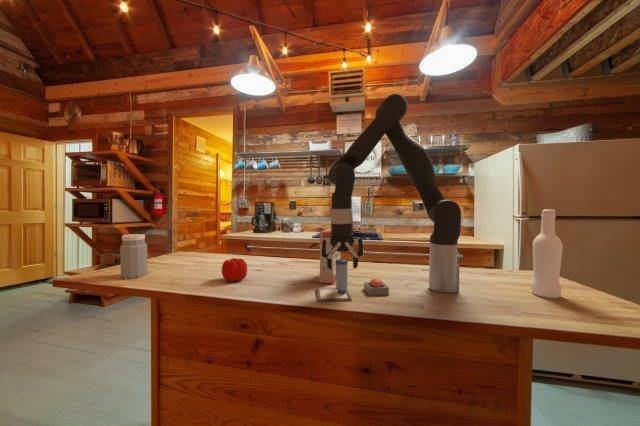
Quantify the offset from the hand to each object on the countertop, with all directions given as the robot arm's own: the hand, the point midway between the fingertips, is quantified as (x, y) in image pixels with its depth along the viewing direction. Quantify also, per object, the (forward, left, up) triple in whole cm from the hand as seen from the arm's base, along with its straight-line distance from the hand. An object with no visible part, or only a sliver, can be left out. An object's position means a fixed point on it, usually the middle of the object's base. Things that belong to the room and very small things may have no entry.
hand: (342, 268), depth 90 cm
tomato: (+42, -20, -10) cm, 47 cm away
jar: (+87, -29, -10) cm, 92 cm away
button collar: (-13, -2, -9) cm, 16 cm away
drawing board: (+3, 0, -9) cm, 10 cm away
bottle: (-71, +5, -10) cm, 72 cm away
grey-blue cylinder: (0, 0, -9) cm, 9 cm away
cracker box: (+2, -19, -10) cm, 22 cm away
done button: (-13, -2, -8) cm, 15 cm away
